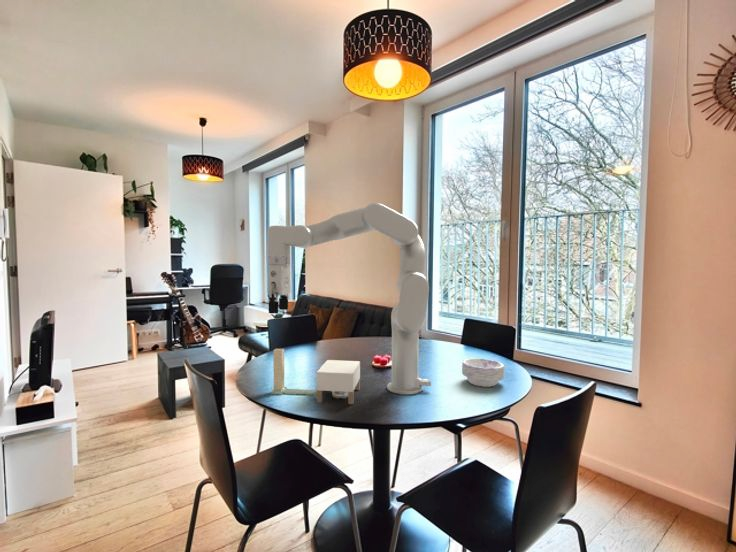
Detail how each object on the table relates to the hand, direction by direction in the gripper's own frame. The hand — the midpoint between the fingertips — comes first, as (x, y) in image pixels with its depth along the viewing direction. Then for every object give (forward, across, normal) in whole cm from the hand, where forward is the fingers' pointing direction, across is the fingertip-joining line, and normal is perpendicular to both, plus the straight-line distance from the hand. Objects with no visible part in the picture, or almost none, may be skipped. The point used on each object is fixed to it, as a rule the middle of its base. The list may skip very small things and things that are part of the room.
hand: (278, 311), depth 134 cm
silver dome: (+28, 0, -22) cm, 36 cm away
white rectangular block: (+28, 0, -22) cm, 36 cm away
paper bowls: (+28, +21, -73) cm, 81 cm away
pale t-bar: (+28, 0, -7) cm, 29 cm away
